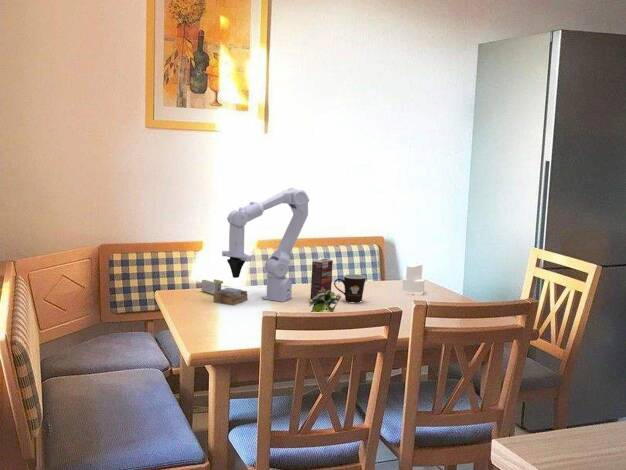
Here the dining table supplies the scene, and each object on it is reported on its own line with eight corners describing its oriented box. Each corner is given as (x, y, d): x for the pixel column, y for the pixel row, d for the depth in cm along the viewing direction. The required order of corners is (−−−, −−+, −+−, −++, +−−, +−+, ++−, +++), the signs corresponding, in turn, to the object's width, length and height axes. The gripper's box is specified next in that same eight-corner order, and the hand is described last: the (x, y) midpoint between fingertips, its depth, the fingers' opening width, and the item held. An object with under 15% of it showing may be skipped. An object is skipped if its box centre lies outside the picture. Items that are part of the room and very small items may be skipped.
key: (224, 295, 271) (224, 280, 270) (219, 296, 269) (219, 281, 268) (205, 290, 278) (205, 276, 277) (200, 291, 276) (201, 277, 275)
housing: (247, 300, 266) (247, 290, 265) (233, 305, 257) (233, 295, 256) (227, 296, 269) (227, 287, 269) (213, 302, 260) (213, 292, 260)
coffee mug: (367, 300, 274) (368, 276, 272) (359, 304, 266) (361, 279, 264) (340, 296, 278) (341, 272, 277) (332, 300, 271) (333, 276, 269)
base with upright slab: (408, 289, 297) (410, 262, 296) (427, 293, 292) (429, 265, 290) (398, 292, 290) (400, 265, 288) (417, 296, 285) (419, 268, 283)
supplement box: (320, 303, 266) (322, 263, 264) (309, 301, 269) (311, 261, 266) (331, 299, 273) (333, 260, 271) (321, 297, 276) (323, 258, 274)
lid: (240, 294, 264) (241, 289, 263) (233, 297, 259) (234, 291, 259) (227, 292, 266) (227, 287, 266) (220, 294, 262) (220, 289, 261)
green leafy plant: (320, 326, 253) (332, 298, 257) (339, 328, 244) (351, 298, 248) (298, 312, 247) (312, 283, 251) (317, 313, 239) (330, 283, 243)
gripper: (216, 240, 262) (215, 275, 264) (241, 245, 252) (240, 281, 254) (230, 239, 267) (229, 273, 269) (255, 244, 257) (254, 279, 259)
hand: (235, 277), depth 262 cm, fingers closed
